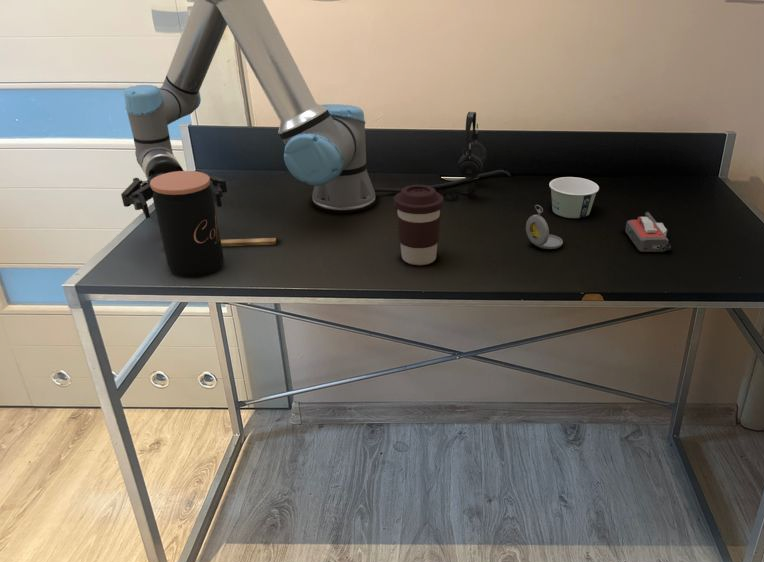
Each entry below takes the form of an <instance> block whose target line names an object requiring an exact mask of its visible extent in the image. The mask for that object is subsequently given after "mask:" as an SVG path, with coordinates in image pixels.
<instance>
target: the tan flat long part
mask: <svg viewBox="0 0 764 562" xmlns="http://www.w3.org/2000/svg"><path fill="white" fill-rule="evenodd" d="M221 245H222V247H244V246H245V247H247V246H249V247H250V246H270V245H273V246H275V245H277V237H261V238H260V237H259V238H235V239H234V238H233V239H221Z"/></svg>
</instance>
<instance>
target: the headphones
mask: <svg viewBox="0 0 764 562" xmlns="http://www.w3.org/2000/svg"><path fill="white" fill-rule="evenodd" d="M478 128H479V124H478V123H477V112H476V111H468V112H467V114H466V119H465V135H464V137H465V139H464V148H463V152H462V156H461V157H460V158H459V160H458V161H457V167H458V170H459V172H460V175H461V176H462V177H463V178H474V177H476V176H477V175H478V174H481V172H482V171H483V169H484V163H485V162H486V161H487V158H488V154H487V153H488V152H487V148H486V147H485V146H484V144H482V143H481V142H479V141H478V140H479V132H476V130H478ZM471 129H472V132H471ZM472 140H473V141H472ZM472 181H473V182H472V183H474V182H475V179H474V180H472ZM473 188H474V184H472V185H471V188H470V189H469V191H462V192H460V191H456V190H454V192H456V193H459V194H462V195H467V196H468V195H469V196H470V197H472V196H473V194H472V193H471V192H472V191H473ZM442 190H443V188H440V190H439V192H440V193H442V194H441V195H442V197H443V199H444V200H447V201H450V199H448V198H446V197H444V194H445V193H447V194H450V195H452V196H454V197H456V195H455V194H453V193H451V192H449V191H448V190H446V191H443V192H442ZM452 201H455V198H454V199H452Z"/></svg>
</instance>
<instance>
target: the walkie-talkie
mask: <svg viewBox="0 0 764 562" xmlns="http://www.w3.org/2000/svg"><path fill="white" fill-rule="evenodd" d="M644 215H645V216H637V219H629V220H627V221H626V225H625V233H626V234H627V236H628V237H629V239H630V240H631V242H632V243H633V244H634V246H635V247H636V249H637V250H638V251H639V252H641V253H664V252H667V251H670V250H671V249H672V245H671V244H670V243H669V242H670V240H669V238H668V237H667V233H668V229H667V228H666V227H665V225H664V223H663V222H657V220H655V218H654V217H653V216H652V214H651V213H650V212H649V211H646V212H645V213H644ZM657 247H659V248H657ZM645 248H647V249H645ZM663 248H664V249H663Z"/></svg>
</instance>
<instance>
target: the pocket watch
mask: <svg viewBox="0 0 764 562" xmlns="http://www.w3.org/2000/svg"><path fill="white" fill-rule="evenodd" d="M537 207H539V208H537ZM534 209H535V210H536V212H537V214H532V215H530V216H529V217H528V219H527V220H526V224H525V231H526V235H527V238H528V239H529V241H530V242H531V244H533V245H534V246H536V247H538V248H540V249H544V250H555V249H559V248H561V247H562V246H563V243H564V241H563V238H561V237H560V236H558V235H554V234H550V229H549V226H548V223H547V221H546V220H545V218H544V217H543V216H541V214H542V213H544V208H543V207H542V206H541V205H539V204H535V205H534Z"/></svg>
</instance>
